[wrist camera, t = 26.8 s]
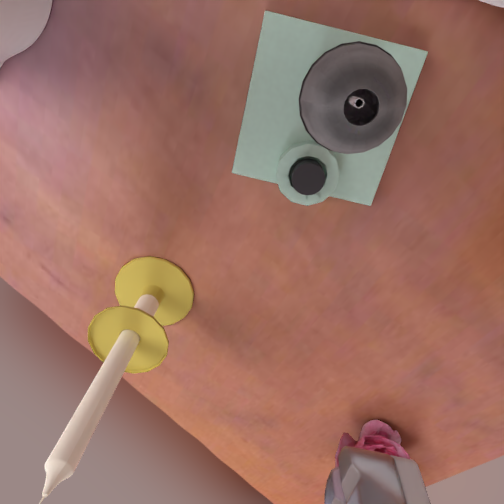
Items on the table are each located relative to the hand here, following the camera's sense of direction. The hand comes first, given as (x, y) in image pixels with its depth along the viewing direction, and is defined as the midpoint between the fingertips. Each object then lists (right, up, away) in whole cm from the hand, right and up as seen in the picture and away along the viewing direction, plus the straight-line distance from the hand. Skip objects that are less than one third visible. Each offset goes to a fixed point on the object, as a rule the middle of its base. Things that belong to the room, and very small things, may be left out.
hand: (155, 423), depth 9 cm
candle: (-10, -1, +43) cm, 44 cm away
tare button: (+8, +11, +32) cm, 35 cm away
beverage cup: (+10, +19, +30) cm, 37 cm away
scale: (+9, +17, +32) cm, 38 cm away
